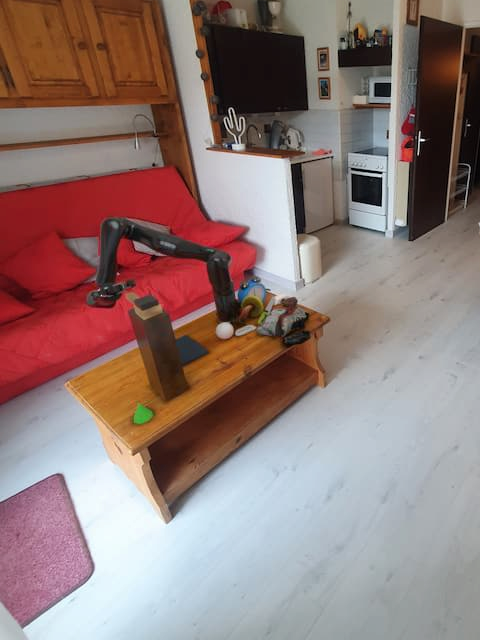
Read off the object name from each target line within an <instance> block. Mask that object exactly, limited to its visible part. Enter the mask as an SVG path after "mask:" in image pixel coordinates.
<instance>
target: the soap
mask: <svg viewBox="0 0 480 640" xmlns="http://www.w3.org/2000/svg"><path fill="white" fill-rule="evenodd" d="M257 329H258V327H257V326H256V325H254V324H247V325H244V326H242V327H240V328H238V329H236V330H235V332H234V336H237V337H239V336H243V335H245V334H248V333H250V332H253V331H254V330H257Z"/></svg>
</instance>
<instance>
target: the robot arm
mask: <svg viewBox="0 0 480 640" xmlns="http://www.w3.org/2000/svg"><path fill="white" fill-rule="evenodd" d="M99 228H100V230H99V232H100V235H99V236H100V242H99V243H100V246H99V249H100V250H99V258H98V259H99V260H98V266H97V271H96V276H95V279H94V280H95V281H94V284H95V285H96V287H99V288H98V289H93V290H92V291H90V292H89V293H88V294H87V296H86V298H85V302H86V303H85V304H86V305H87V306H88V307H90V308H91V309H92V308H93V309H104V310H105V309H106V310H111V309H113V308H115V306H116V305H117V301H119V300H120V299H121V297H123V292H126V291H128V289H130V290H131V289H134V288H135V287H136V286H137V284H136V282H135V279H127V280H126V281H121V282H118V283H116V281H117V277H118V271H119V262H118V251H119V250H118V249H119V246H120V243H121V240H127V241H130V242H131V241H132V242H135V243H138V244H141V245H143V246H145V247H147V248H148V249H150V250H152V251H153V252H156V253H158V254H160V255H163V256H166V257H169V258H173V259H177V260H178V259H179V260H196V261H200V262H203V263H205V267H206V273H207V278H208V282H209V284H210V286H211V289H212V294H213V300H214V305H215V306H214V307H215V311H216V313H215V315H216V316H217V322H218V323H219V324H221V323H223V322H228V323H230V324H231V322H230V320H231V318H235V319H236V318H237V319H238V318H239V317H240V315H241V312H240V309H242V304H241V302H239V300H238V298H237V297H236V291H235V285H234V280H233V278H232V277H231V274H230V267H231V265H232V262H233V258H232V256H231V255H230V254H229V253H228V252H227V251H225V250H222V249H220V248H215V247H211V246H206V245H202V244H200V243H196V242H193V241H191V240H187V239H185V238H182V237H180V236H177V235H174V234H171V233H168V232H164V231H160V230H157V229H154V228H149V227H146V226H143V225H141V224H138V223H137V222H134V221H132V220H130V219H128V218H126V217H122V216H111V217H106V218H105V219H103V220H102V222H101V224H100V227H99ZM265 289H266V291H269V292H271V290H272V289H271V288H265Z"/></svg>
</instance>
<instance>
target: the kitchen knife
mask: <svg viewBox="0 0 480 640" xmlns="http://www.w3.org/2000/svg"><path fill="white" fill-rule="evenodd" d="M274 301H275V295H272V297H271V298H270V301H269V302H268V304H267V306H266V307H265V308H264V309H263V312H262V314H261V315H260V316H259V318H258V320H257V323H256V324H257V325H259V326H260V325H261V324H262V323H263V322H264V319H265V318H266V316H268V314H270V312H271V310H272V309H273V304H274Z"/></svg>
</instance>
